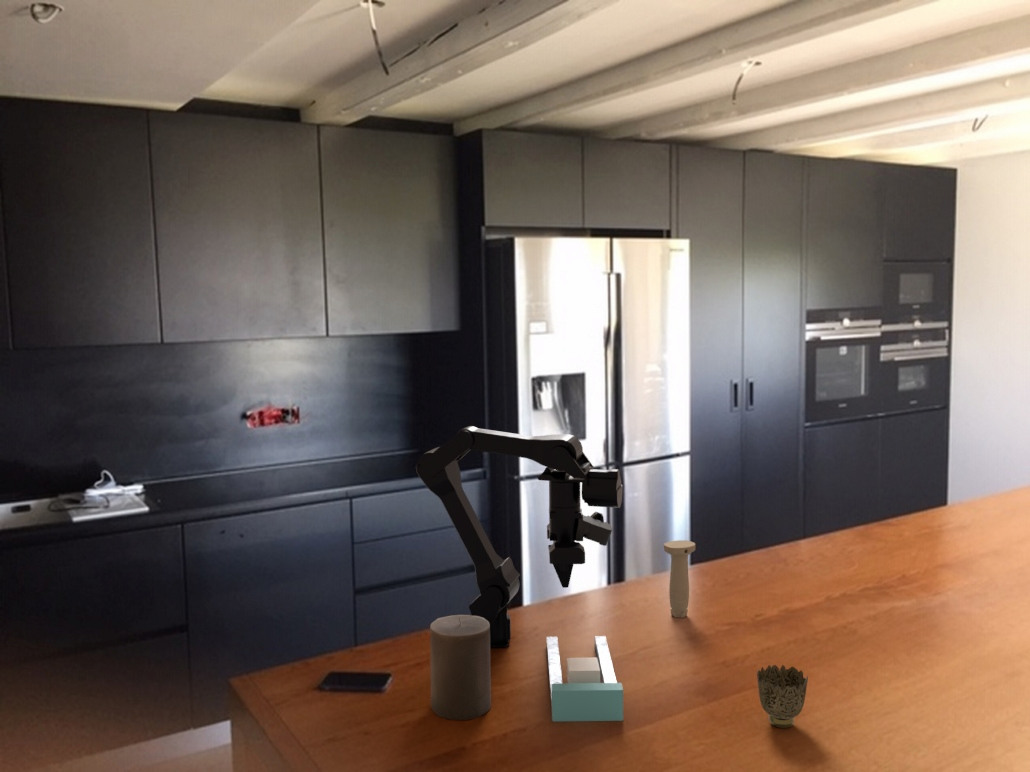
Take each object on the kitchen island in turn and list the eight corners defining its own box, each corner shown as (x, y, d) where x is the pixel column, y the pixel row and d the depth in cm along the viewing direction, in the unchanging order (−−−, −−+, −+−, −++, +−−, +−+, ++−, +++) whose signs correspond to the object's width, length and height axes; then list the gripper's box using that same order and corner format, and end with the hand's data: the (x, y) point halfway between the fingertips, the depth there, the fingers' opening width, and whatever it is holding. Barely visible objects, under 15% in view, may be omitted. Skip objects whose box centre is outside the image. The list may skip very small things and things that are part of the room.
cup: (749, 713, 140) (750, 665, 139) (794, 711, 140) (795, 662, 139) (766, 737, 132) (767, 686, 131) (814, 734, 133) (815, 683, 132)
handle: (699, 617, 180) (699, 545, 178) (671, 622, 178) (672, 549, 176) (685, 609, 184) (686, 539, 183) (659, 613, 182) (659, 542, 180)
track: (552, 721, 138) (552, 690, 137) (546, 646, 166) (546, 621, 166) (623, 720, 138) (623, 689, 137) (605, 646, 166) (605, 620, 166)
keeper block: (569, 706, 143) (569, 670, 142) (567, 692, 148) (566, 657, 147) (600, 706, 143) (600, 670, 142) (597, 691, 148) (597, 657, 147)
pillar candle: (468, 726, 137) (467, 632, 135) (418, 710, 142) (417, 620, 140) (502, 701, 145) (502, 613, 143) (454, 687, 150) (453, 602, 149)
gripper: (614, 517, 153) (614, 604, 154) (604, 492, 171) (604, 570, 173) (549, 517, 153) (550, 605, 155) (546, 492, 171) (547, 570, 173)
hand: (565, 586), depth 164 cm, fingers closed
